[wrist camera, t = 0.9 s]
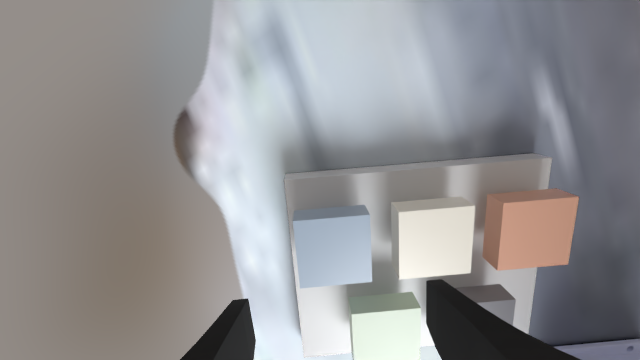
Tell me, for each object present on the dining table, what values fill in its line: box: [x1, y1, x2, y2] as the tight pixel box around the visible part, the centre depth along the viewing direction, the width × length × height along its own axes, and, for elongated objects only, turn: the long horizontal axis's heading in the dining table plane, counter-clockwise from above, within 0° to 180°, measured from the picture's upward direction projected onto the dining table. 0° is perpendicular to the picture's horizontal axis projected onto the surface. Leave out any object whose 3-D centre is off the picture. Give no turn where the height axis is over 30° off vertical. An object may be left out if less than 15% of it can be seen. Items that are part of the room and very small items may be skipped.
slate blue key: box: [293, 205, 372, 288], centre depth 17 cm, size 4×4×2 cm
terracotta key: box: [482, 188, 579, 271], centre depth 17 cm, size 4×4×2 cm
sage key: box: [348, 292, 421, 360], centre depth 18 cm, size 4×4×2 cm
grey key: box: [455, 284, 516, 326], centre depth 19 cm, size 4×4×2 cm
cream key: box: [391, 196, 475, 280], centre depth 17 cm, size 4×4×2 cm
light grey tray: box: [284, 153, 552, 357], centre depth 20 cm, size 16×13×2 cm
